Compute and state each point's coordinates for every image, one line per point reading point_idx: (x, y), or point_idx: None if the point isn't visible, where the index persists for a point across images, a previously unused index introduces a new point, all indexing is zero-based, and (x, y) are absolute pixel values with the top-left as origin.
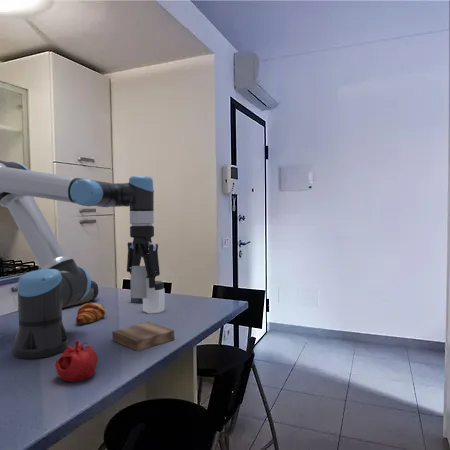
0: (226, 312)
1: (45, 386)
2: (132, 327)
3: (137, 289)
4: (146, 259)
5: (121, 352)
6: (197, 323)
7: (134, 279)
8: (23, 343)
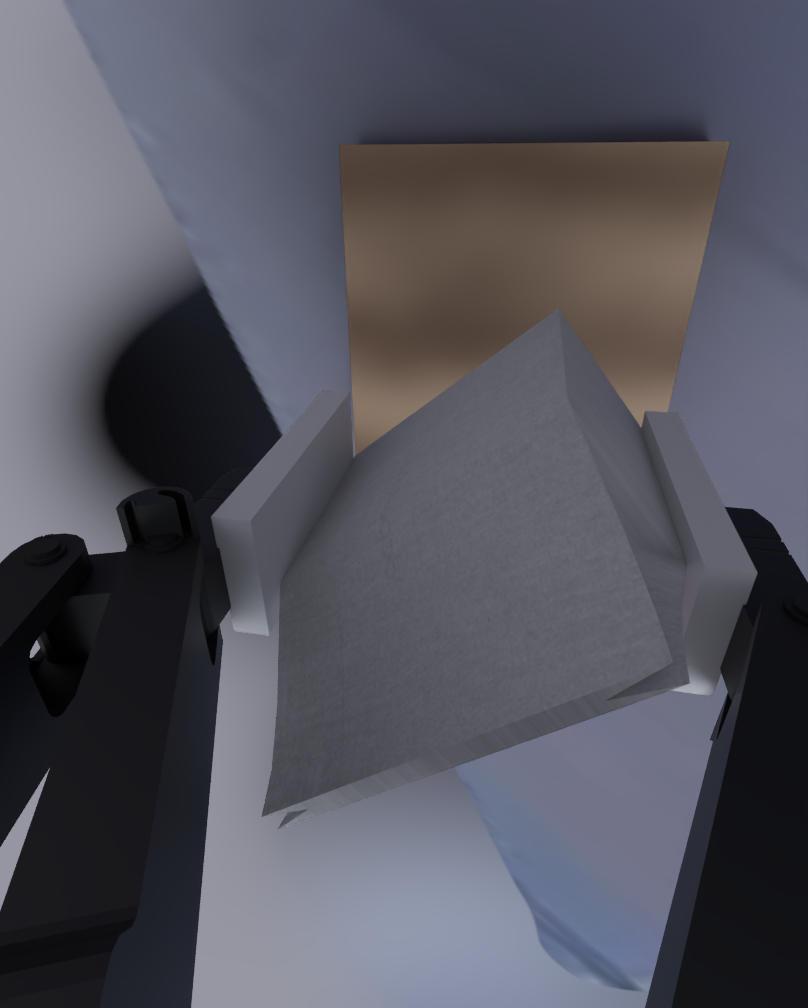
0: (516, 852)
1: None
2: (649, 329)
3: (471, 404)
4: (33, 853)
5: (415, 33)
6: None
7: (498, 444)
8: None
